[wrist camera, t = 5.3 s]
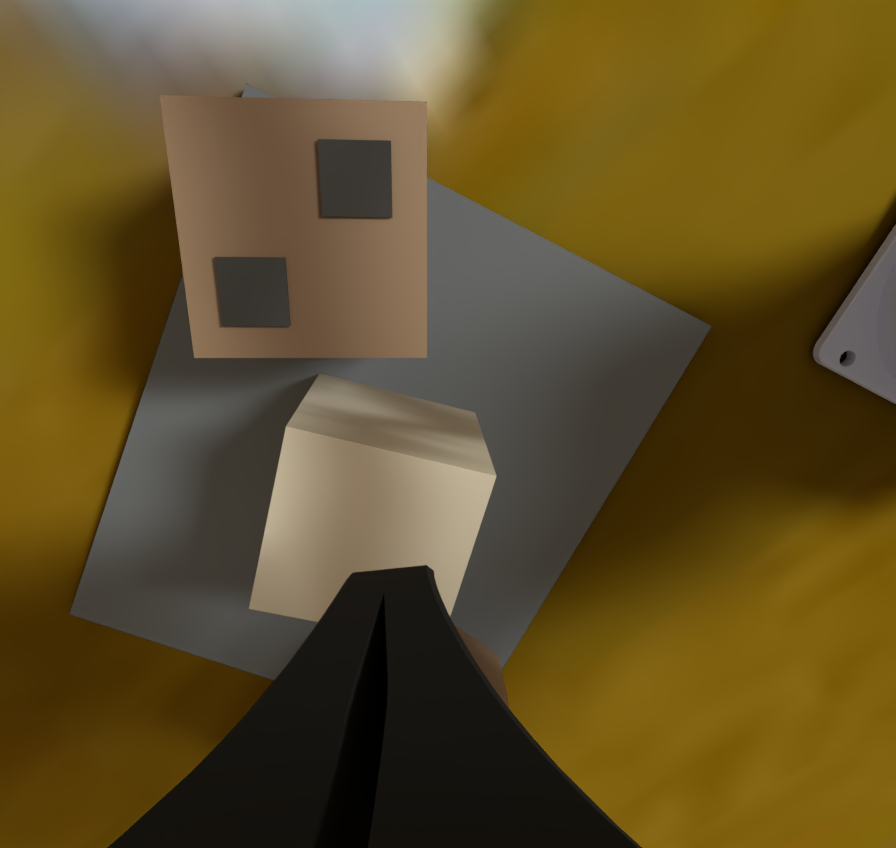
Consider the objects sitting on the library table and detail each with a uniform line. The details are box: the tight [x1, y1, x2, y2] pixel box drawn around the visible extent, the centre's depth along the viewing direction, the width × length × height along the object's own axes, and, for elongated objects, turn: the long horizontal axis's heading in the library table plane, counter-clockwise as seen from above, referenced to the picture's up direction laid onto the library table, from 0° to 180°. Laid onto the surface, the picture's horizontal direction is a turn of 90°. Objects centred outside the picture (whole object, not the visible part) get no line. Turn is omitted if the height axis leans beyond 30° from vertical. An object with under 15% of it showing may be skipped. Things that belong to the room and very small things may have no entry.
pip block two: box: [160, 95, 427, 358], centre depth 14 cm, size 5×5×5 cm
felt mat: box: [70, 83, 712, 680], centre depth 19 cm, size 15×18×1 cm
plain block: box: [249, 373, 497, 622], centre depth 17 cm, size 5×5×5 cm
